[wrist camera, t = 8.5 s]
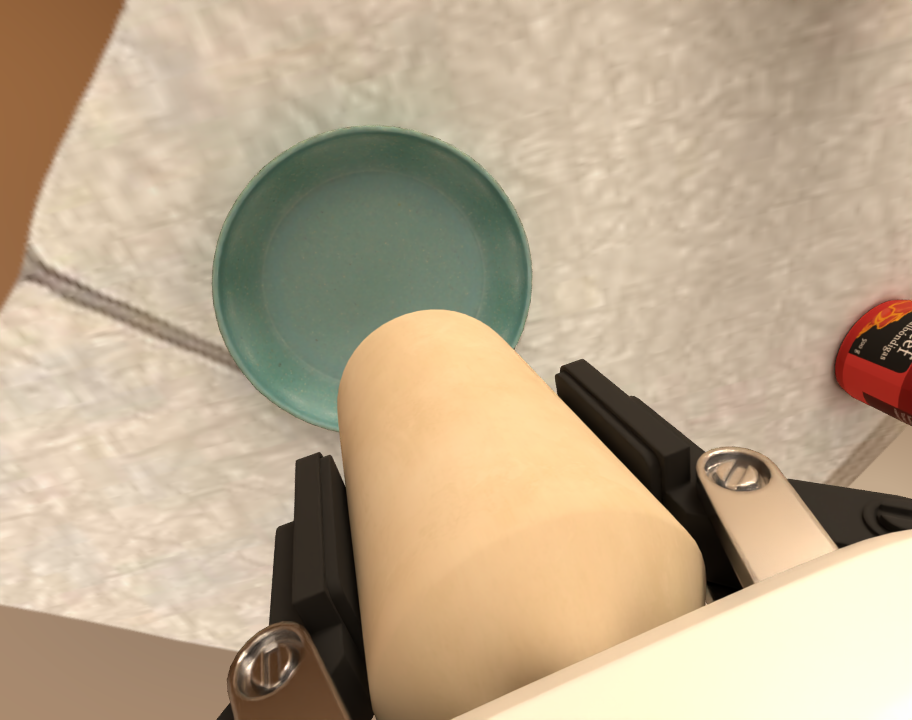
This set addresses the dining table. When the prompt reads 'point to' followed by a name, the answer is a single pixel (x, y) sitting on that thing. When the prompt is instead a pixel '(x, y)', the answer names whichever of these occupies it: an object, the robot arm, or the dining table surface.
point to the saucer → (360, 257)
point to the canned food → (880, 359)
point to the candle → (490, 523)
